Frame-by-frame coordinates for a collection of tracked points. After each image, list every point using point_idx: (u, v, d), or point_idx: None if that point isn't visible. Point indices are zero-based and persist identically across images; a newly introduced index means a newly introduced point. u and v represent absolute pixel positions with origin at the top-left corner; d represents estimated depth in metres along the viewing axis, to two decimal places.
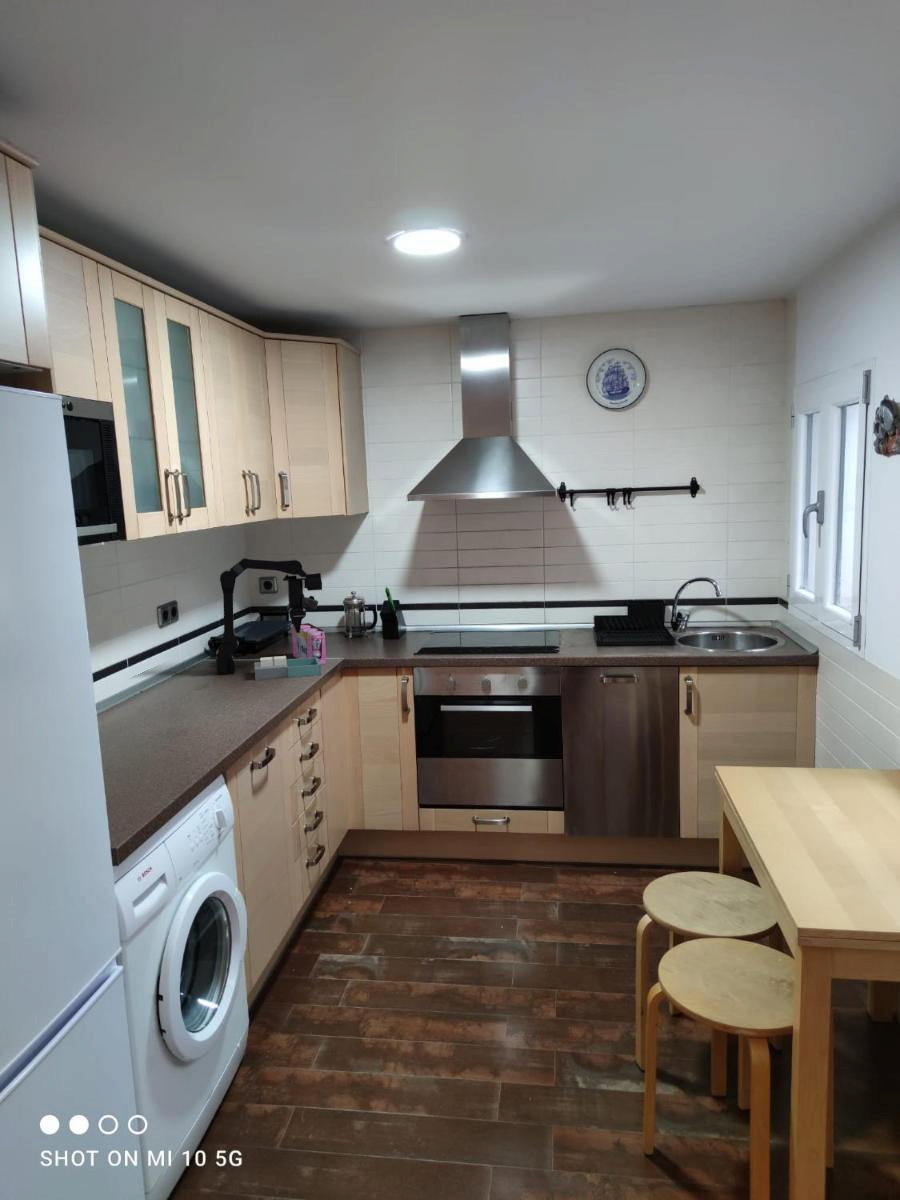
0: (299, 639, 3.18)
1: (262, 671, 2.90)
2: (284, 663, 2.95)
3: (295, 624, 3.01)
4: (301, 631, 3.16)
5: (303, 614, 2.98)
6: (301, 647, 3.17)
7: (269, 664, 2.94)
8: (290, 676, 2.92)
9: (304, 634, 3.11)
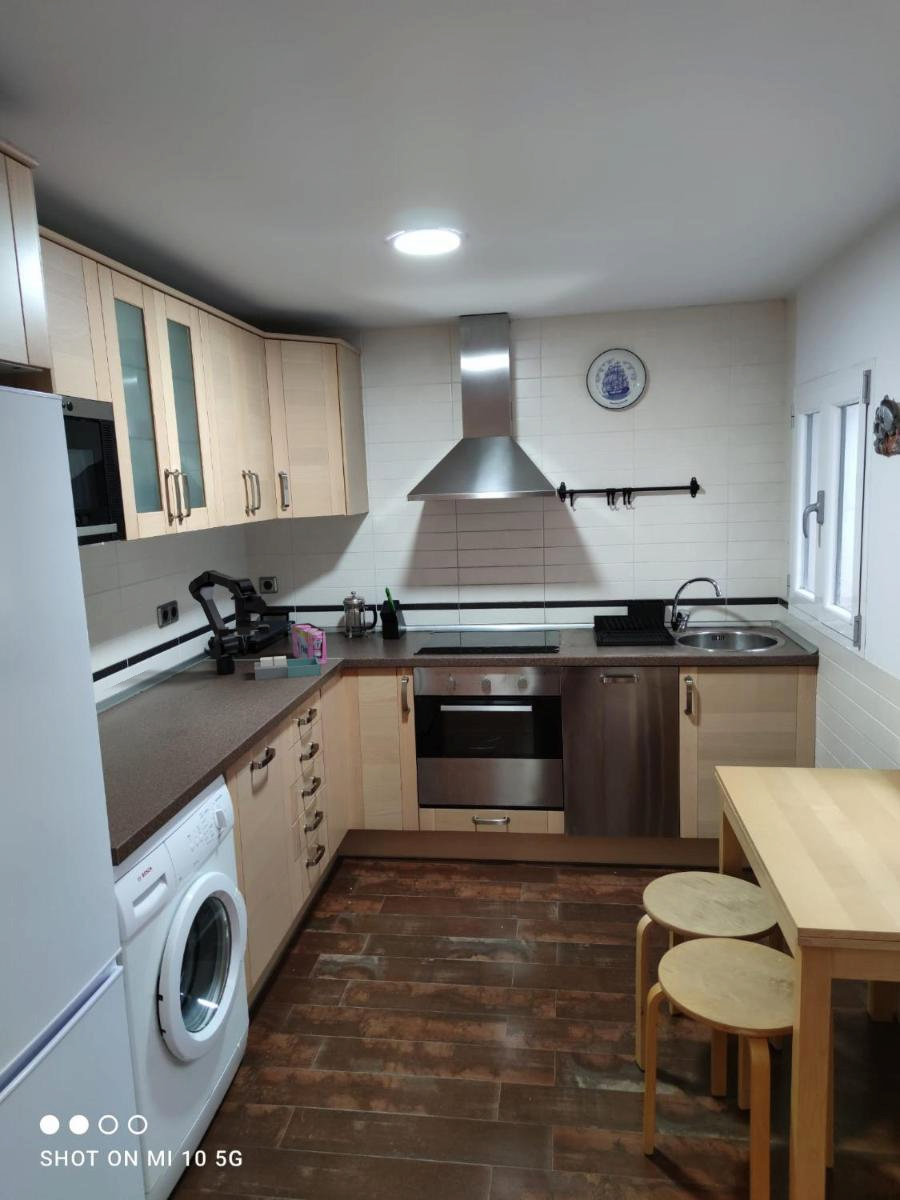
0: (300, 639, 3.19)
1: (262, 671, 2.90)
2: (284, 663, 2.95)
3: None
4: (302, 631, 3.16)
5: (218, 635, 2.88)
6: (301, 647, 3.17)
7: (269, 664, 2.94)
8: (290, 676, 2.92)
9: (305, 634, 3.12)
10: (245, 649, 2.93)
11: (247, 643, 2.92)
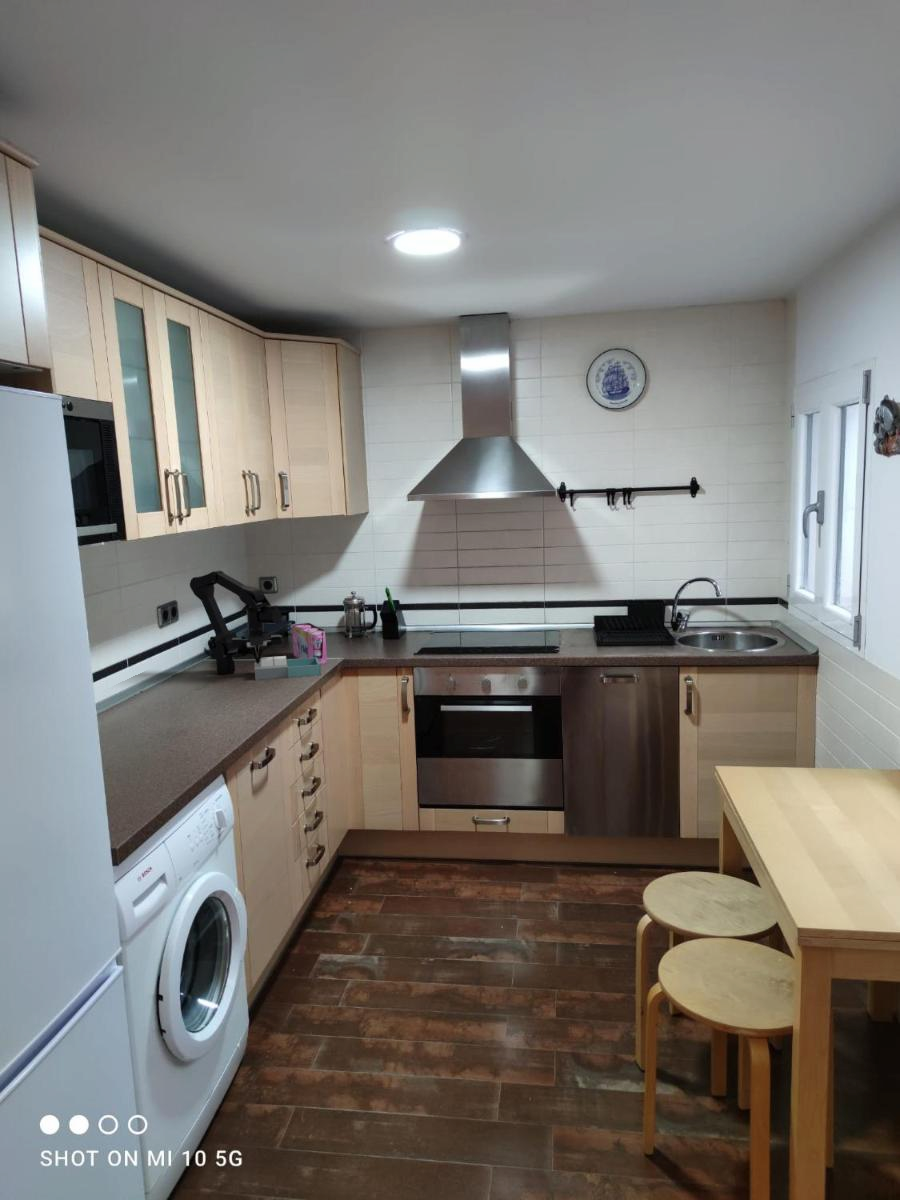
0: (300, 639, 3.19)
1: (262, 671, 2.90)
2: (284, 663, 2.95)
3: None
4: (302, 631, 3.16)
5: (230, 646, 2.90)
6: (301, 646, 3.17)
7: (269, 664, 2.94)
8: (290, 676, 2.92)
9: (305, 634, 3.12)
10: (258, 659, 2.94)
11: (259, 653, 2.94)
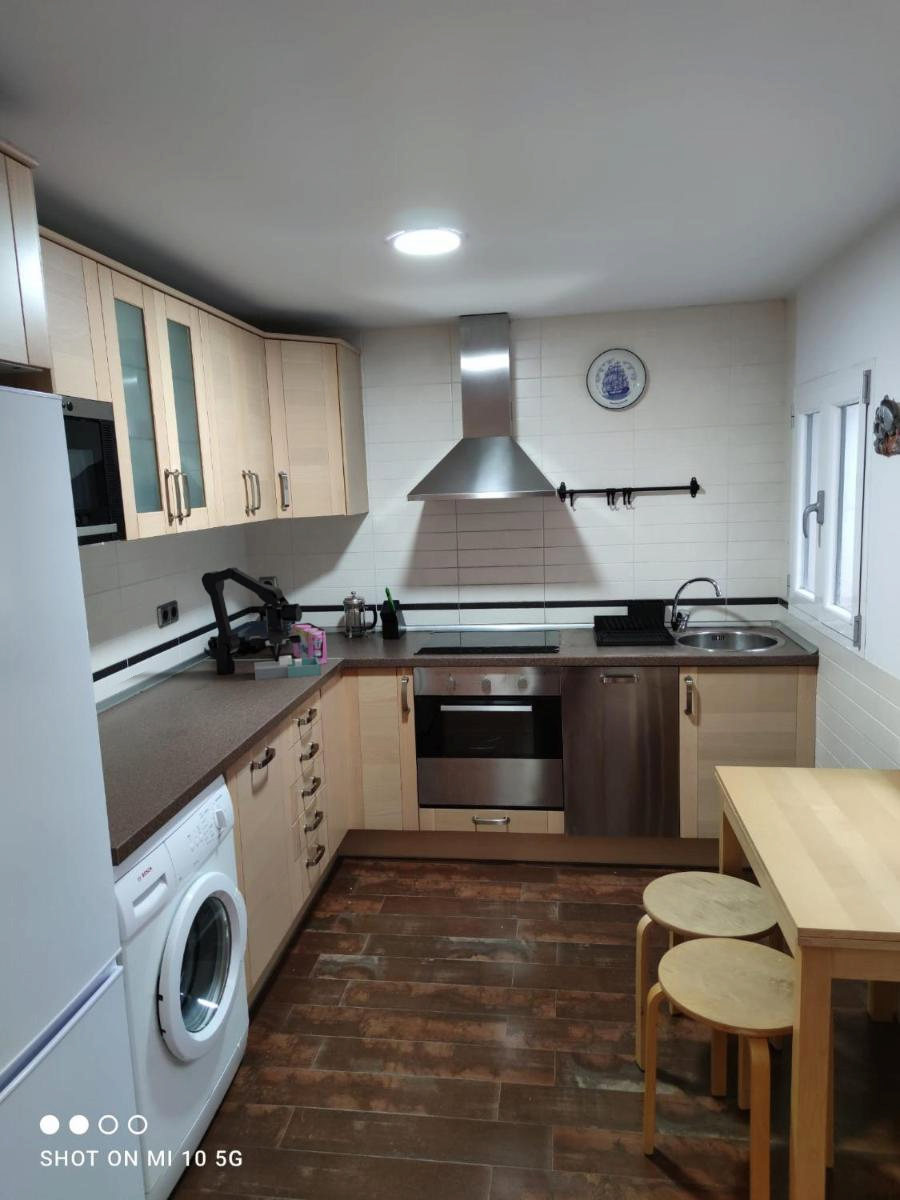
0: None
1: (262, 671, 2.90)
2: None
3: None
4: (302, 631, 3.16)
5: (250, 644, 2.91)
6: (302, 646, 3.18)
7: (288, 662, 2.96)
8: (290, 676, 2.92)
9: (305, 634, 3.12)
10: (276, 658, 2.96)
11: (278, 652, 2.95)
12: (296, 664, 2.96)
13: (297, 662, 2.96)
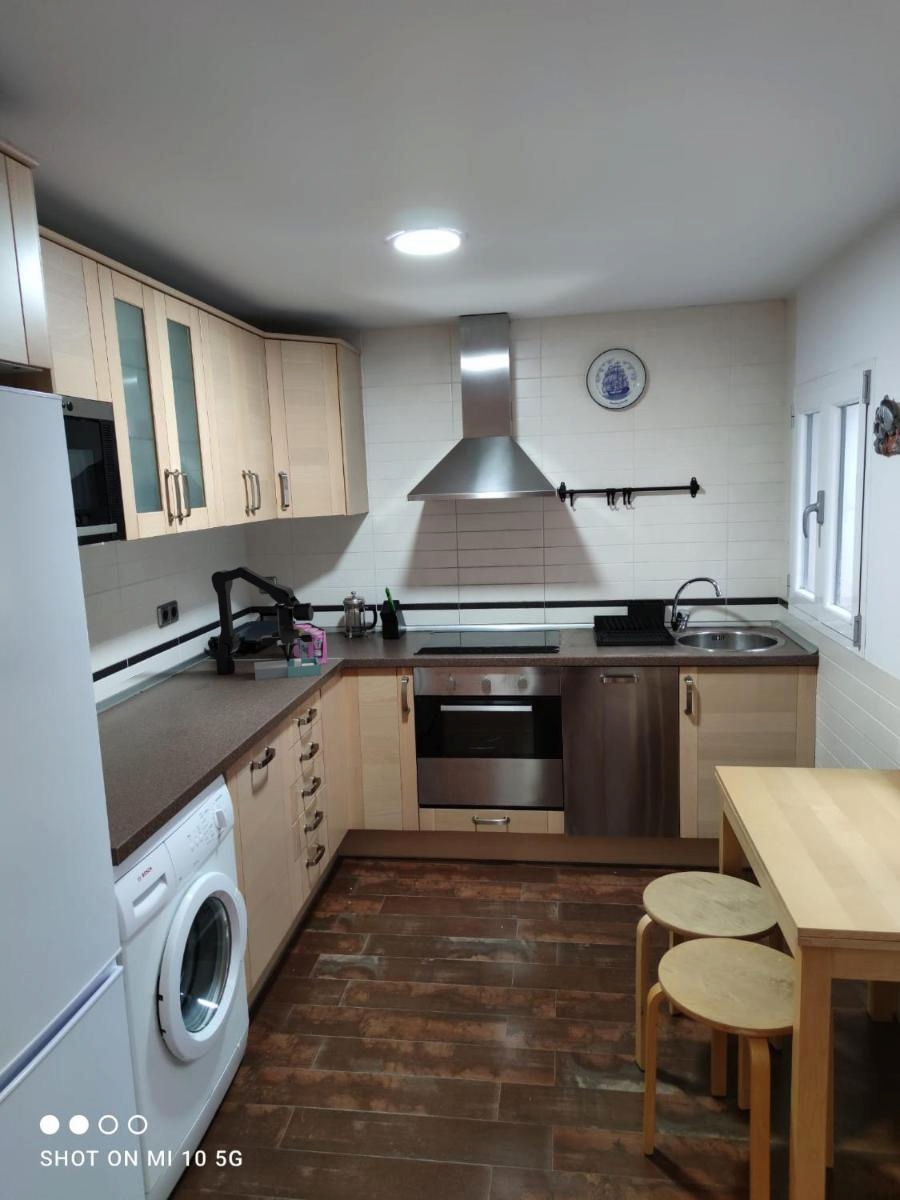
0: None
1: (262, 671, 2.90)
2: None
3: None
4: (302, 631, 3.16)
5: None
6: (302, 646, 3.18)
7: None
8: (290, 676, 2.92)
9: None
10: (288, 657, 2.97)
11: (290, 651, 2.96)
12: None
13: None
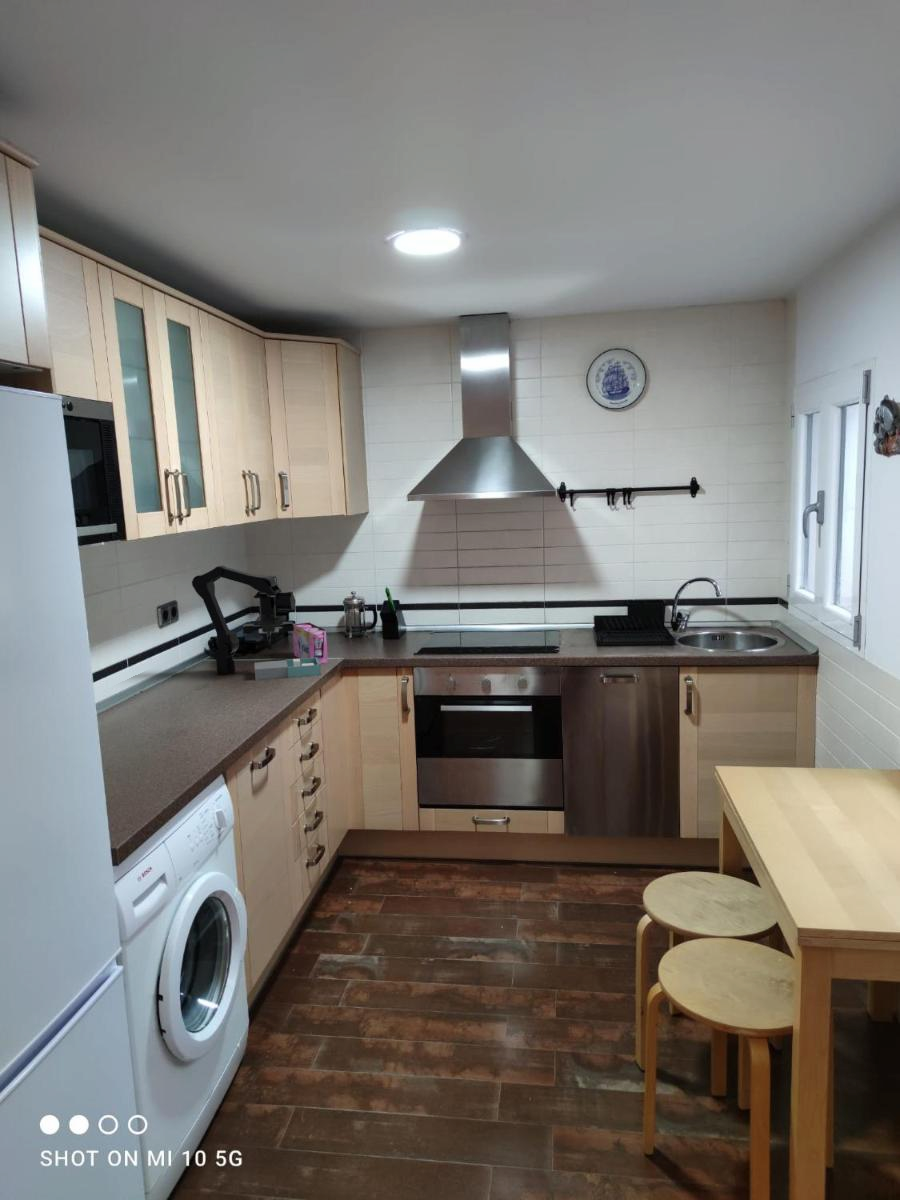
0: (300, 638, 3.20)
1: (262, 671, 2.90)
2: None
3: None
4: (302, 630, 3.17)
5: (243, 632, 2.93)
6: (302, 646, 3.18)
7: None
8: (290, 676, 2.92)
9: (306, 633, 3.13)
10: (269, 646, 2.98)
11: (271, 640, 2.97)
12: None
13: None
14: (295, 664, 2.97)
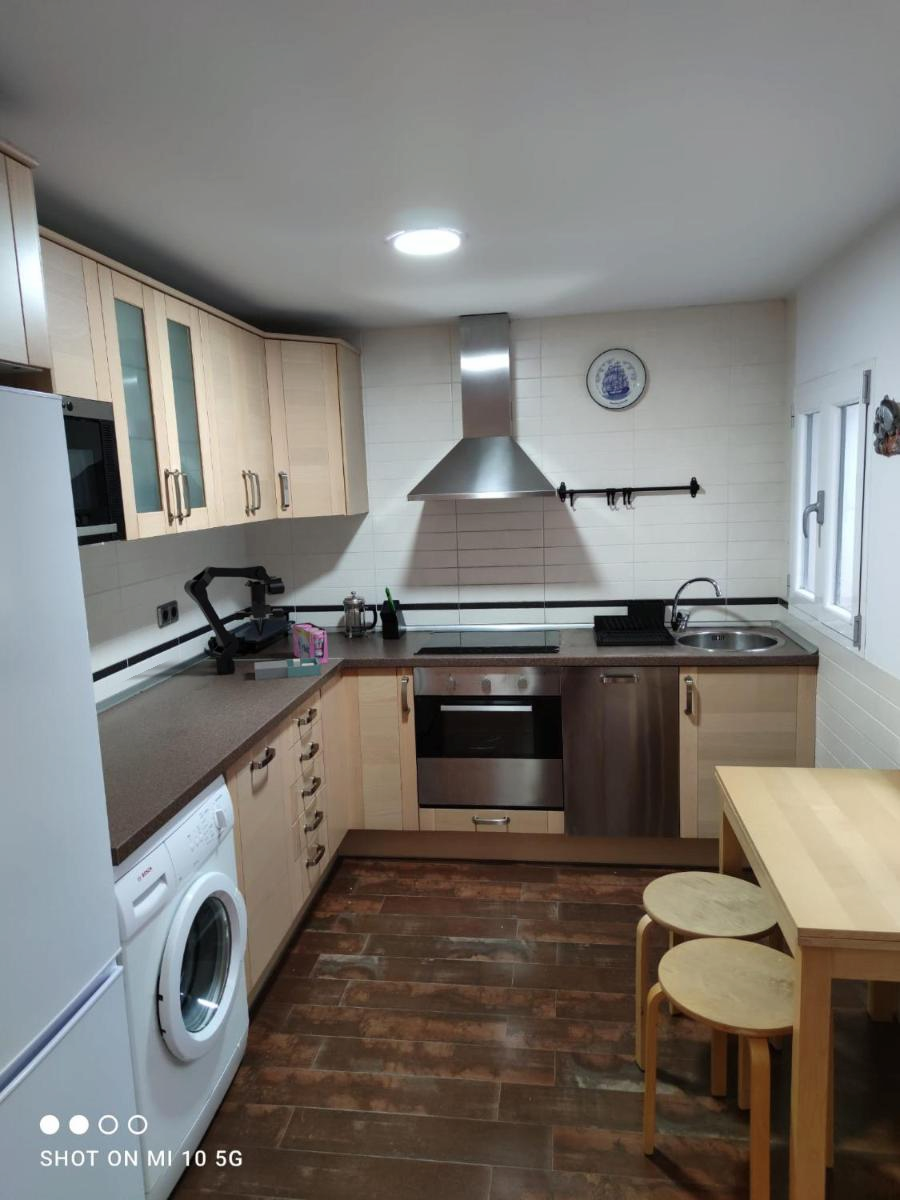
0: (301, 638, 3.20)
1: (262, 671, 2.90)
2: None
3: None
4: (303, 630, 3.17)
5: None
6: (303, 646, 3.18)
7: None
8: (290, 676, 2.92)
9: (306, 633, 3.13)
10: (260, 632, 3.09)
11: (262, 626, 3.08)
12: None
13: None
14: (295, 664, 2.97)
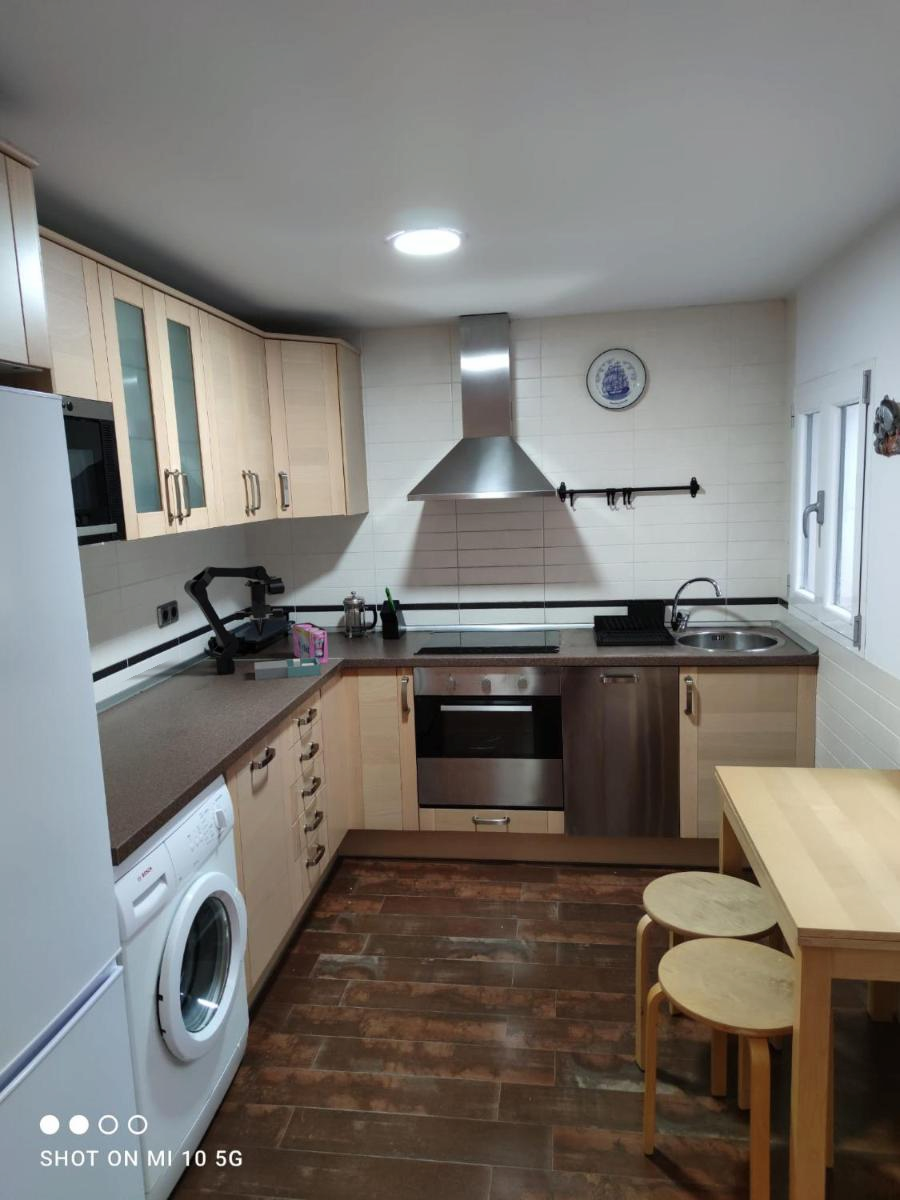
0: (301, 638, 3.20)
1: (262, 671, 2.90)
2: None
3: None
4: (303, 630, 3.17)
5: None
6: (303, 646, 3.18)
7: None
8: (290, 676, 2.92)
9: (306, 633, 3.13)
10: (260, 632, 3.09)
11: (262, 626, 3.08)
12: None
13: None
14: (295, 664, 2.97)
